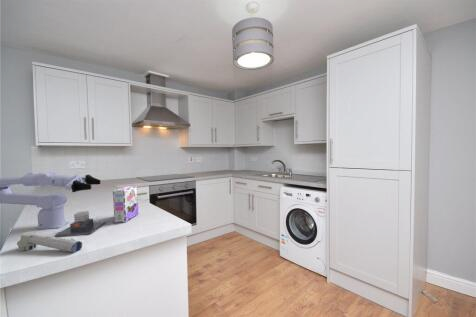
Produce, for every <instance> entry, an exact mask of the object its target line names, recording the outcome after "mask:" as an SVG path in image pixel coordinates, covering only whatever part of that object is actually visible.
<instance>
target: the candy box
mask: <svg viewBox="0 0 476 317" xmlns="http://www.w3.org/2000/svg"><path fill="white" fill-rule="evenodd" d="M112 197H113V219H114V220H113V221H114V223H115V224H117V223H120V224H121V223H122V224H123V223H127V222H129V221H130V220H131V219H133V218H136V217H137V216H138V215H139V204H138V203H139V202H138V200H139V199H138V198H139V197H138V186H137V185H135V186H134V185H132V186H129V185H128V186H125V187H121V188H117V189H113V191H112ZM136 215H137V216H136Z"/></svg>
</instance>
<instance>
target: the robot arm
mask: <svg viewBox="0 0 476 317" xmlns="http://www.w3.org/2000/svg"><path fill="white" fill-rule="evenodd" d="M12 185H23V186H24V187H36V186H37V187H38V186H41V187H47V186H54V187H59V188H60V187H62V188H65V190H67V191H68V190H69V191H72V193H76V192H79V191H88V190H92V185H101V179H98V178H96V177H93V176H92V175H90V174H86V175H85V176H80V174H78V173H77V174H74V175H67V174H57V173H54V172H47V173H44V172H39V173H33V172H28V173H26V174H25V175H24V174H23V176H20V177H18V176H17V177H1V178H0V204H7V205H24V206H25V205H26V206H27V205H29V206H36V208H41V209H40V210H39V211H38V214H37V226H38V227H37V228H36V229H37V230H44V229H45V230H47V229H59V228H61V227H63V226H65V225H67V224H68V223H70V222H69V221H65V210H64V208H65V204H66V203H67V201H68V197H67V195H66V194H65V193H63V192H57V193H52V194H51V193H50V194H35V193H34V194H31V193H13V192H12V190H11V186H12Z"/></svg>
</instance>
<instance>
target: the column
mask: <svg viewBox="0 0 476 317" xmlns="http://www.w3.org/2000/svg"><path fill="white" fill-rule="evenodd" d="M89 212H90V211H88V210H87V211H85V210H83V211H77V212H75V213H74V214H73V220H74V222H75V223H85V222H87V221H88V220H89V219H90V213H89Z"/></svg>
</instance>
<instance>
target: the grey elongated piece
mask: <svg viewBox="0 0 476 317" xmlns="http://www.w3.org/2000/svg"><path fill="white" fill-rule="evenodd" d="M16 245H17V246H18V248H17V249H18V250H19V251H20V252H24V251H27V250H28V251H31V250H32V251H33V250H35V249H36V248H37V247H38V245H39V246H42V247H47V248H52V249H54V250H60V251H63V252H65V253H74V254H75V253H78V252H79V251H81V249H82V248H83V242H82V241H80V240H75V239H74V238H70V239H69V238H62V237H54V236H49V235H48V236H47V235H39V234H35V232H33V231H27V232H23V233H22V234H21V236H20V240H18V241H17V242H16Z"/></svg>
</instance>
